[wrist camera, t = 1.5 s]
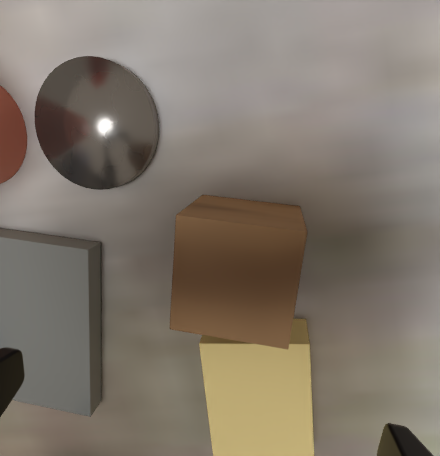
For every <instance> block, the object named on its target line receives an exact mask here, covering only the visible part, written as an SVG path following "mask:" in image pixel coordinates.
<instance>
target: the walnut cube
mask: <svg viewBox="0 0 440 456" xmlns="http://www.w3.org/2000/svg"><path fill="white" fill-rule="evenodd" d="M306 237H307V229H306V226H305V222H304V219H303V215H302V212H301V209H300V206H294V205H285V204H277V203H268V202H260V201H251V200H243V199H234V198H226V197H217V196H209V195H202V196H200V197H199V198H198V199H197V200H195V201H194V202H193V203H191V204H190V205H189V206H187V207H186V208H185V209H183V210H182V211H181V212H180V213H178V214H177V215H176V225H175V243H174V260H173V278H172V296H171V314H170V329H172V330H178V331H184V332H189V333H195V334H201V335H207V336H212V337H218V338H224V339H230V340H236V341H241V342H247V343H253V344H259V345H265V346H270V347H276V348H282V349H288V348H289V342H290V336H291V329H292V323H293V317H294V311H295V305H296V299H297V293H298V286H299V280H300V274H301V268H302V262H303V256H304V250H305V243H306Z"/></svg>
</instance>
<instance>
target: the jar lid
mask: <svg viewBox="0 0 440 456" xmlns="http://www.w3.org/2000/svg"><path fill="white" fill-rule="evenodd" d="M35 127H36V133H37V137H38V140H39V143H40V146H41V148H42V150H43V152H44V154H45V156H46V157H47V159H48V160H49V162H50V163H51V164H52V166H53V167H54V168H55V169H56V170H57V171H58V172H59V173H60V174H61V175H63V176H64V177H65V178H67V179H68V180H70V181H71V182H73V183H75V184H77V185H80V186H83V187H86V188H91V189H109V188H113V187H117V186H120V185H123V184H126V183H128V182H130V181H132V180H133V179H135V178H136V177H138V176H139V175H140V174H141V173H142V172H143V171H144V170H145V169H146V168H147V166H148V165H149V163H150V162H151V160H152V158H153V156H154V153H155V151H156V148H157V143H158V138H159V121H158V114H157V110H156V107H155V104H154V101H153V99H152V97H151V95H150V93H149V91H148V90H147V88H146V87H145V86H144V84H143V83H142V82H141V81H140V80H139V78H138V77H137V76H135V75H134V74H133V73H132V72H131V71H129V70H128V69H126V68H125V67H123V66H121V65H118V64H116V63H114V62H112V61H110V60H107V59H103V58H100V57H93V56H84V57H78V58H74V59H71V60H68V61H66V62H64V63H62V64H61V65H59V66H58V67H57V68H55V69H54V70H53V71H52V72H51V73H50V74H49V76H48V77H47V78H46V80H45V81H44V83H43V85H42V87H41V89H40V91H39V94H38V97H37V101H36V106H35Z"/></svg>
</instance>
